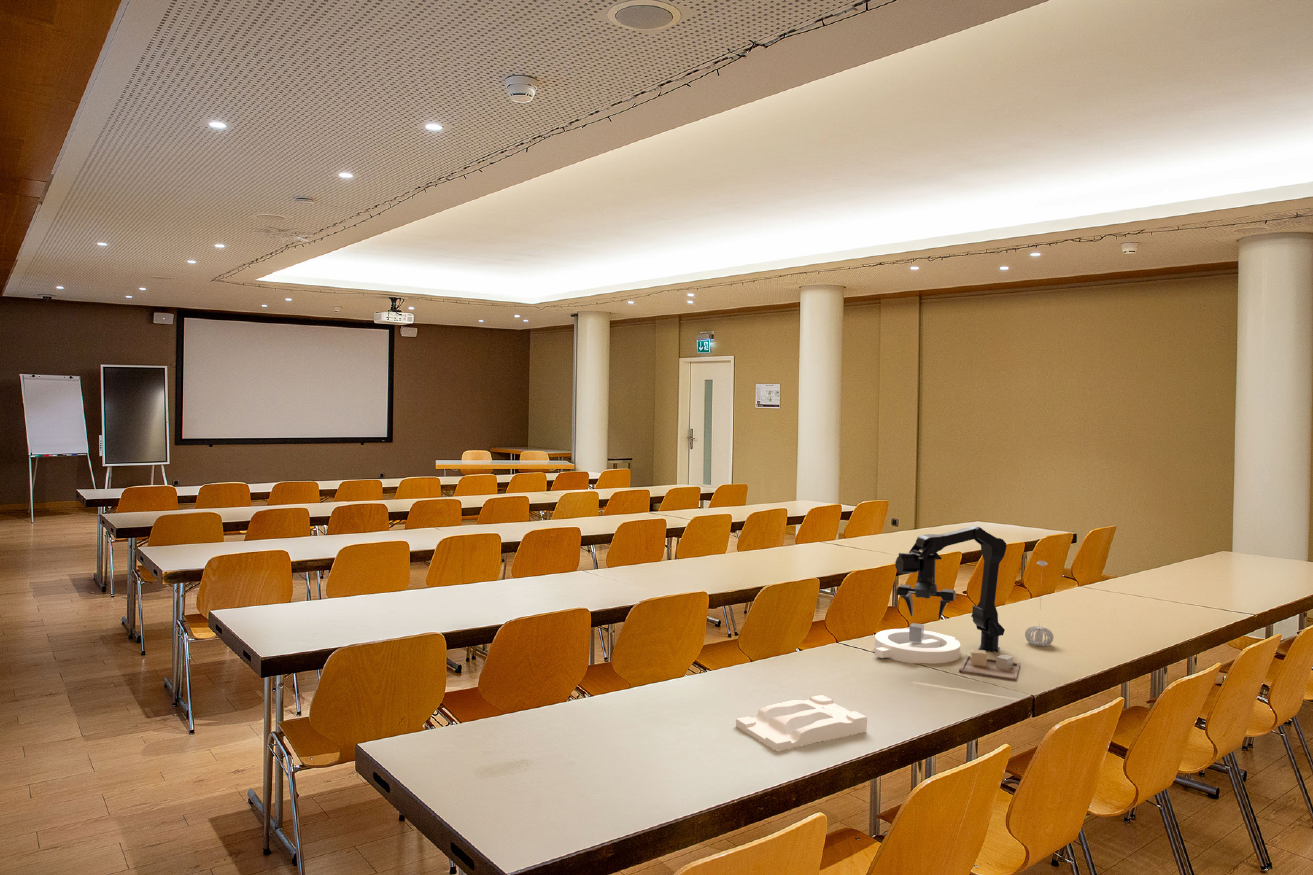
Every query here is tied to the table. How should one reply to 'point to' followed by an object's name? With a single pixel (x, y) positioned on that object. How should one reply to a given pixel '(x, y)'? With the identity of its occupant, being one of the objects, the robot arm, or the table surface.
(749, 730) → the mold
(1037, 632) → the pendant light
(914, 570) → the robot arm
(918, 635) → the grey cube block
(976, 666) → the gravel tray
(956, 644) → the ring with crossbar
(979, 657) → the tan cube
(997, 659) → the beige cube
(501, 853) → the table surface
